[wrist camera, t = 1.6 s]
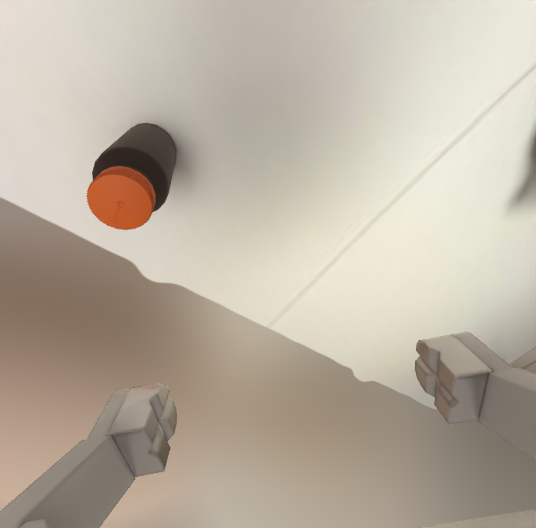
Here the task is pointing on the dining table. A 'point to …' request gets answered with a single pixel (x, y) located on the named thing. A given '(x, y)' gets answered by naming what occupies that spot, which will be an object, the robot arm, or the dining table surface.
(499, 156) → the dining table surface
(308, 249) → the dining table surface
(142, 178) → the bottle
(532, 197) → the dining table surface
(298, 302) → the dining table surface
